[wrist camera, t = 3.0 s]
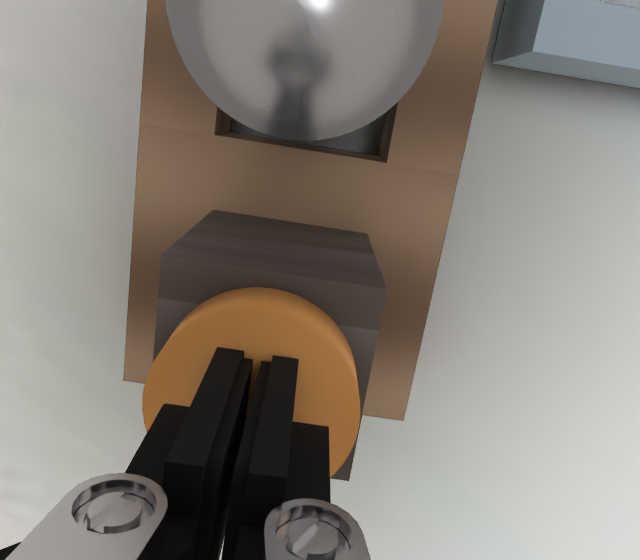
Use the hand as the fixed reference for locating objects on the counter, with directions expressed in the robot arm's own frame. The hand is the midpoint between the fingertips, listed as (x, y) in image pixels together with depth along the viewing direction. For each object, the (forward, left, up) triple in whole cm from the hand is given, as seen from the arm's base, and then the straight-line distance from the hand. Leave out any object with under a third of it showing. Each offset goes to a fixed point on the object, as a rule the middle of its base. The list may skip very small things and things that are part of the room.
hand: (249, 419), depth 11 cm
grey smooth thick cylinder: (-8, 0, -11) cm, 13 cm away
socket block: (-4, 0, -11) cm, 11 cm away
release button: (0, 0, -8) cm, 8 cm away
